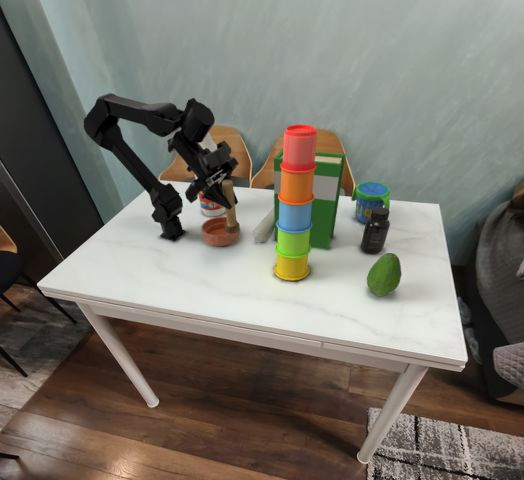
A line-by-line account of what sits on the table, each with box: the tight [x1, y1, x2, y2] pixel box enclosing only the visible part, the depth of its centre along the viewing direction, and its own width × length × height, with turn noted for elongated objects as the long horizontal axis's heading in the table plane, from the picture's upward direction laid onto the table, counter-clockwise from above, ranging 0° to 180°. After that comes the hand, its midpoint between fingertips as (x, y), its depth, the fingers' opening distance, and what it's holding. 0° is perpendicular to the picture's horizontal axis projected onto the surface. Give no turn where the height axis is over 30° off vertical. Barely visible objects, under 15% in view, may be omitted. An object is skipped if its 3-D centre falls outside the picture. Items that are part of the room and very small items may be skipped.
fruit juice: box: [194, 131, 226, 217], centre depth 103 cm, size 9×9×28 cm
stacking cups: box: [273, 124, 318, 282], centre depth 75 cm, size 10×10×35 cm
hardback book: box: [273, 148, 346, 250], centre depth 90 cm, size 18×7×24 cm, turn 70°
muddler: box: [222, 179, 241, 234], centre depth 85 cm, size 4×4×14 cm
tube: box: [252, 207, 275, 243], centre depth 103 cm, size 5×5×25 cm
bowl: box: [200, 216, 241, 247], centre depth 100 cm, size 12×12×4 cm
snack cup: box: [350, 181, 391, 224], centre depth 102 cm, size 16×10×10 cm
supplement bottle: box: [360, 206, 391, 255], centre depth 90 cm, size 7×7×12 cm
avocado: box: [366, 252, 402, 297], centre depth 77 cm, size 8×8×12 cm
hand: (233, 206), depth 84 cm, fingers closed on muddler, 3 cm apart
